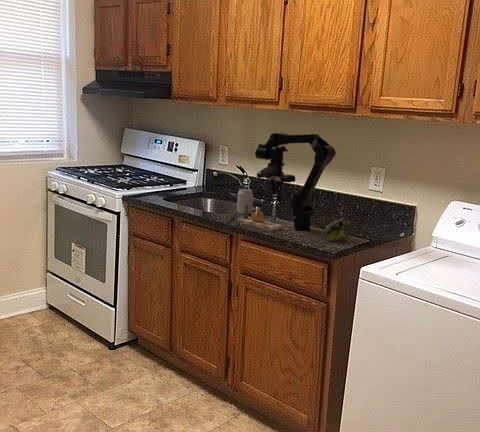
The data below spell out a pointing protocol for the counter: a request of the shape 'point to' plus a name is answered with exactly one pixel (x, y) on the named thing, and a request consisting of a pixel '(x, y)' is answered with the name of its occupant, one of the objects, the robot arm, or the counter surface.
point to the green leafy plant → (336, 229)
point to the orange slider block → (257, 215)
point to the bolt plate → (259, 224)
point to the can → (244, 200)
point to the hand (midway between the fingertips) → (274, 195)
